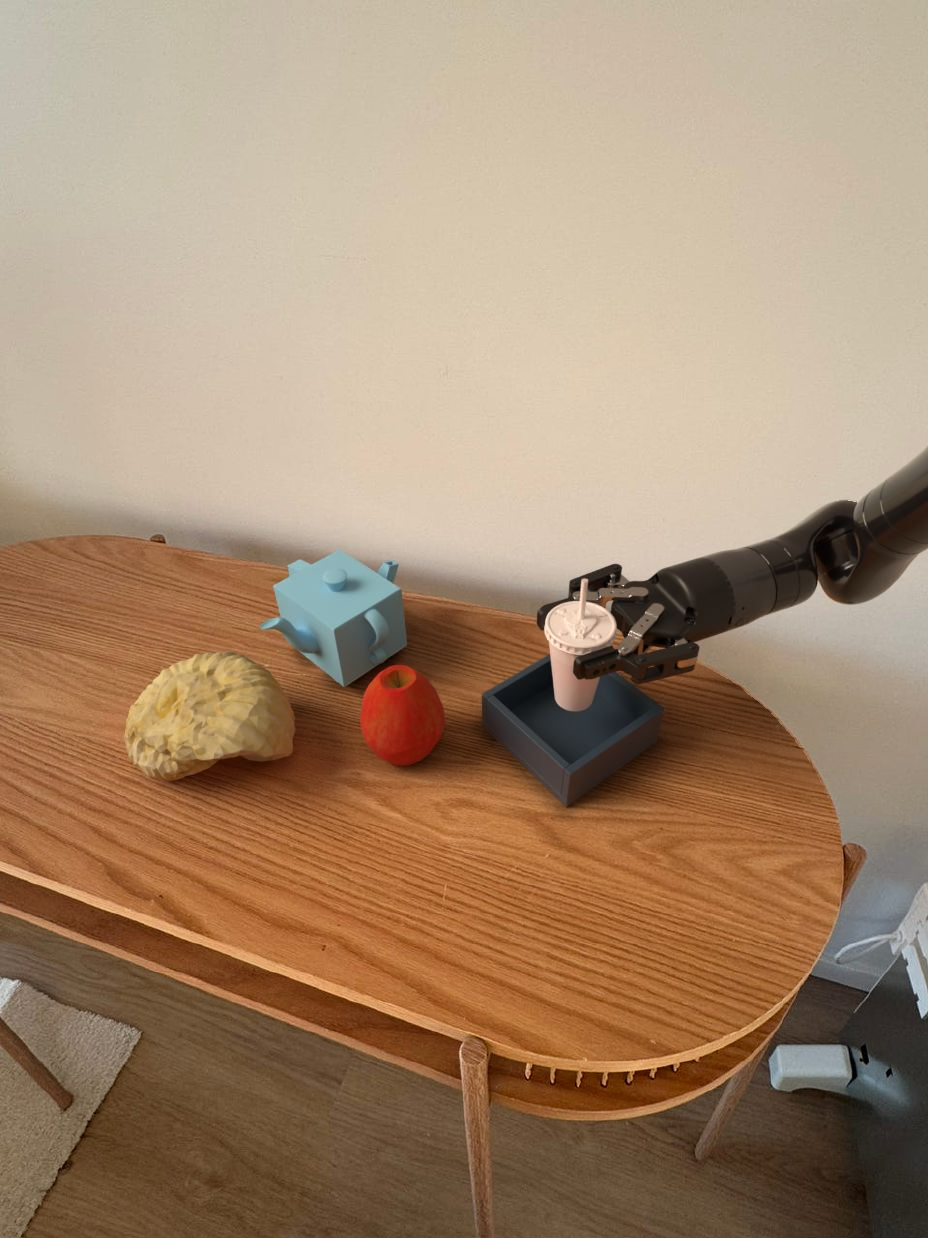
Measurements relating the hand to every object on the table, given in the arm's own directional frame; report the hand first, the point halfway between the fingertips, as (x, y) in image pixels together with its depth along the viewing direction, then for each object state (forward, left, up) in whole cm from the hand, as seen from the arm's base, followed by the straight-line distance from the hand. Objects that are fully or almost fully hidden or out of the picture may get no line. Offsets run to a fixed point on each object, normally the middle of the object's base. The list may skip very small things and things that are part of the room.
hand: (556, 644), depth 65 cm
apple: (+8, +12, -14) cm, 20 cm away
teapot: (+24, +10, -14) cm, 30 cm away
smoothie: (-1, -2, -8) cm, 9 cm away
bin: (-1, -2, -13) cm, 14 cm away
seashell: (+19, +27, -14) cm, 36 cm away
